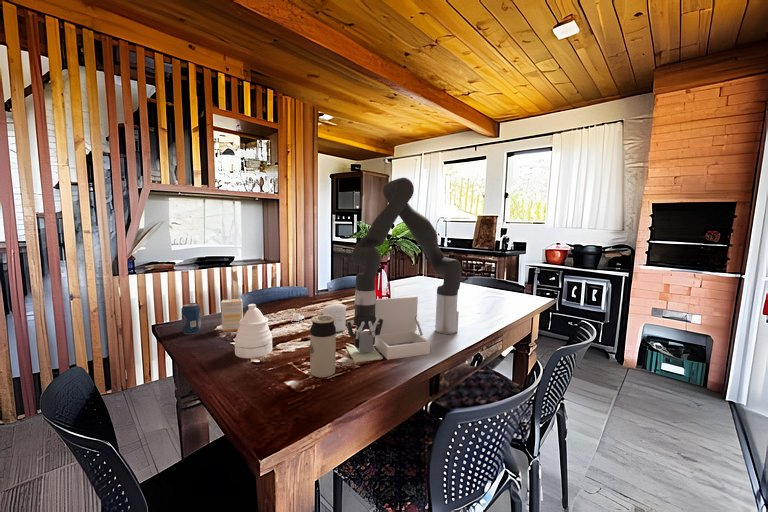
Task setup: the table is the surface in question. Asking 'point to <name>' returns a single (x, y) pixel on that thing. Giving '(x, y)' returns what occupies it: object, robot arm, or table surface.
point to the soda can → (191, 318)
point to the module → (365, 342)
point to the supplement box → (231, 314)
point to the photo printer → (337, 315)
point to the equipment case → (399, 328)
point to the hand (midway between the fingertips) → (364, 346)
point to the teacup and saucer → (297, 317)
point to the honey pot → (253, 335)
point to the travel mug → (322, 346)
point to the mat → (363, 355)
